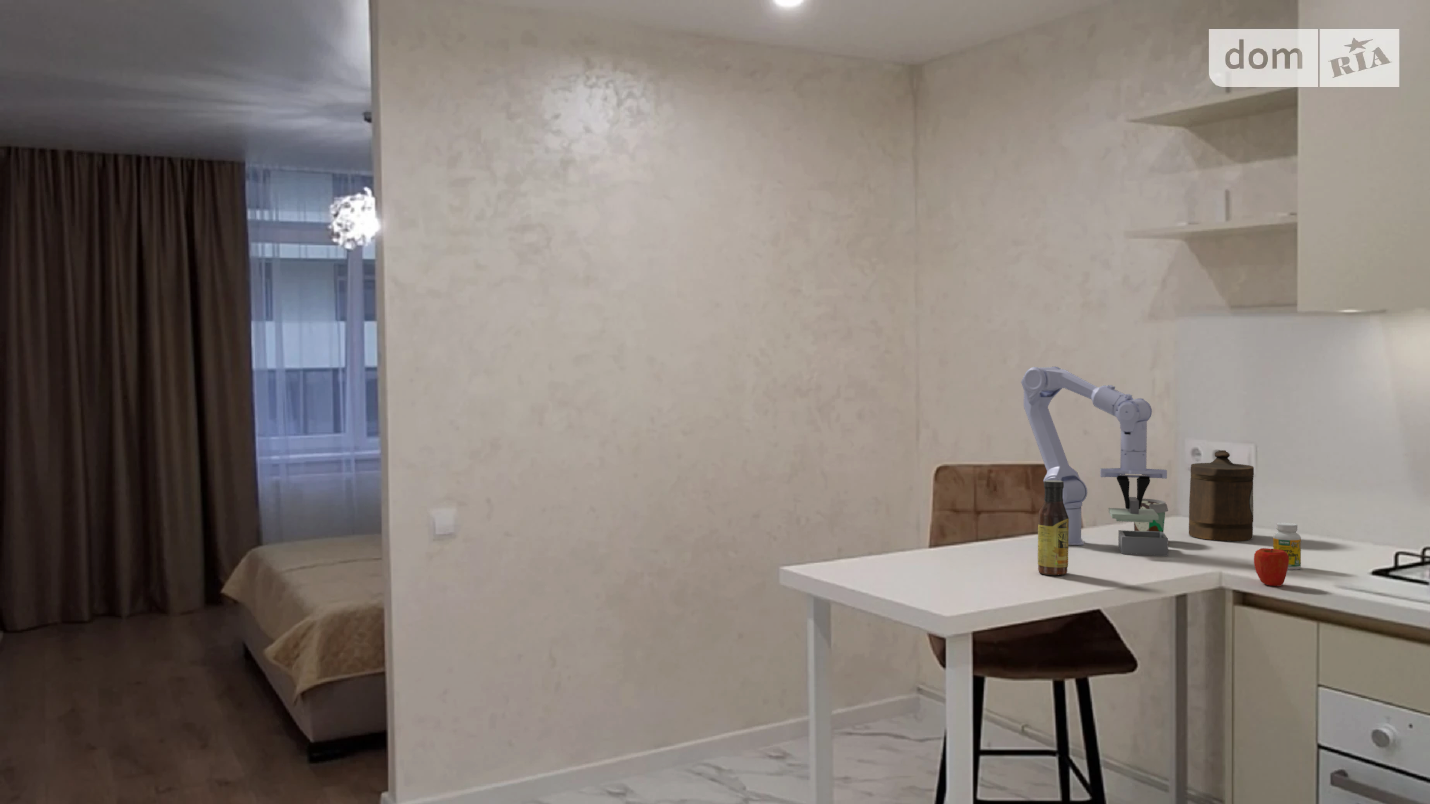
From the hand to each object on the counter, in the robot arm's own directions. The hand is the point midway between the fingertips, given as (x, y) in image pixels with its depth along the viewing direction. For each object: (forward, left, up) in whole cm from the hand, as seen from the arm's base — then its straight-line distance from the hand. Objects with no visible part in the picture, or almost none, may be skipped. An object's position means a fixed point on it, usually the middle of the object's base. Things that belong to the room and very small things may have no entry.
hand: (1132, 508), depth 260 cm
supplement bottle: (+30, -12, -11) cm, 34 cm away
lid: (0, 0, -2) cm, 3 cm away
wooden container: (+23, +28, -11) cm, 38 cm away
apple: (+23, -32, -11) cm, 41 cm away
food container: (+6, +17, -11) cm, 21 cm away
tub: (+2, +2, -10) cm, 11 cm away
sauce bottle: (-19, -30, -11) cm, 37 cm away
